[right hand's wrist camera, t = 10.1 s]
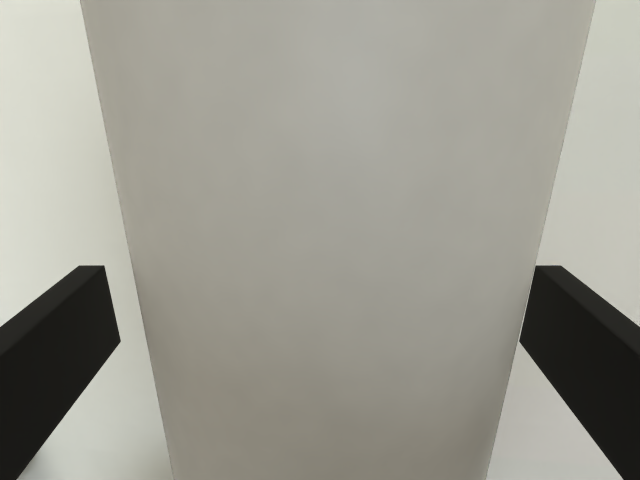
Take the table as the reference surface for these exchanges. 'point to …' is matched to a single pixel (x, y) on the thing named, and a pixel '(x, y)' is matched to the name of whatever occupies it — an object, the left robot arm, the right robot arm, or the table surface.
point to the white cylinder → (334, 220)
